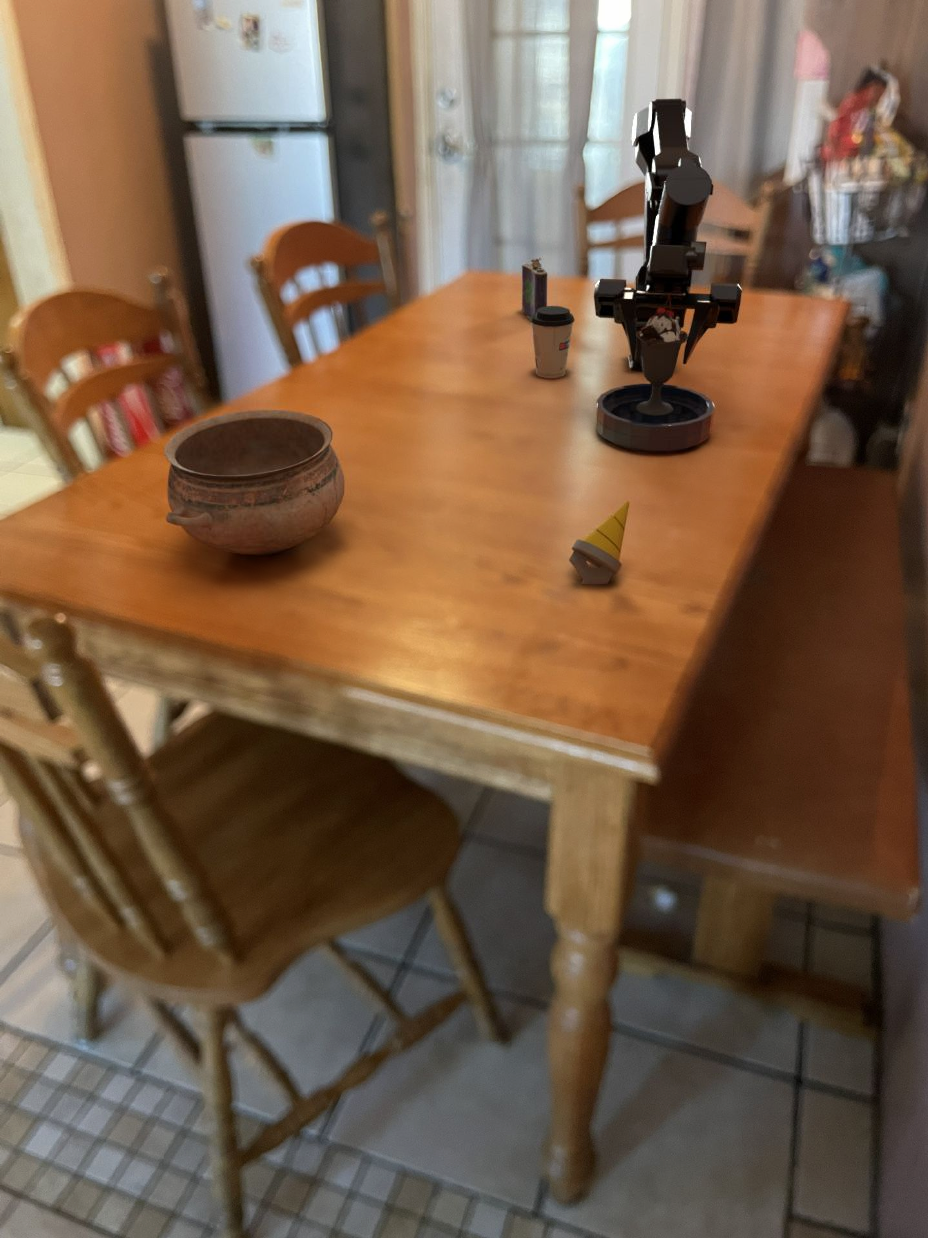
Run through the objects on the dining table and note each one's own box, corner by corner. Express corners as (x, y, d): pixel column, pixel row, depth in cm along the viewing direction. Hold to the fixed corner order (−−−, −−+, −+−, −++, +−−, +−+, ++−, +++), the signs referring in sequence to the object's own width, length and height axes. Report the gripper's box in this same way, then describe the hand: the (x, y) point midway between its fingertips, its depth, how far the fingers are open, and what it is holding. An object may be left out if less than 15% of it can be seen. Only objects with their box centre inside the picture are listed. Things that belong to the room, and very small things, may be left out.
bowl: (593, 411, 133) (594, 383, 131) (702, 411, 132) (705, 383, 129) (597, 455, 120) (599, 425, 118) (718, 456, 119) (722, 426, 117)
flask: (519, 311, 176) (520, 253, 170) (533, 309, 177) (534, 251, 171) (536, 325, 169) (537, 264, 163) (551, 323, 169) (553, 262, 163)
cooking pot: (258, 618, 90) (238, 507, 84) (123, 572, 98) (94, 468, 92) (396, 513, 108) (389, 415, 101) (272, 481, 116) (258, 388, 109)
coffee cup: (523, 377, 145) (523, 314, 140) (536, 364, 151) (538, 302, 145) (565, 382, 143) (567, 318, 137) (577, 368, 148) (580, 305, 143)
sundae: (671, 397, 127) (682, 287, 119) (685, 416, 122) (698, 302, 113) (624, 401, 127) (632, 290, 118) (637, 419, 121) (646, 305, 113)
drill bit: (555, 573, 97) (602, 492, 97) (599, 599, 97) (646, 517, 97) (560, 568, 91) (610, 483, 92) (606, 595, 91) (656, 509, 92)
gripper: (599, 213, 116) (583, 327, 113) (752, 216, 112) (738, 335, 109) (604, 262, 127) (588, 367, 124) (743, 267, 122) (730, 375, 120)
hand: (658, 361), depth 119 cm, fingers closed on sundae, 6 cm apart
